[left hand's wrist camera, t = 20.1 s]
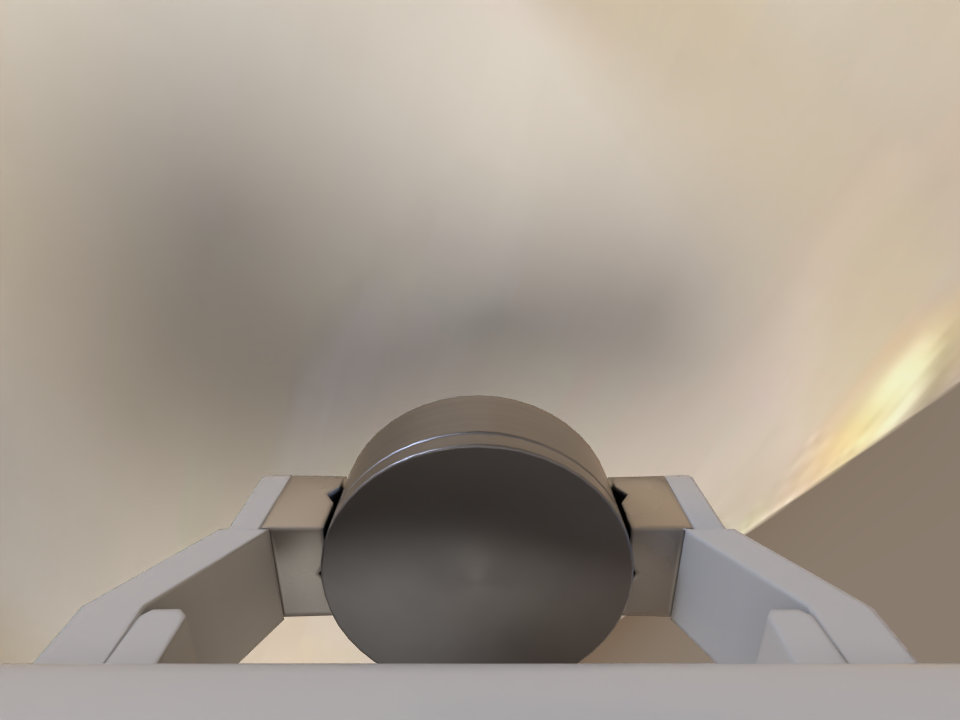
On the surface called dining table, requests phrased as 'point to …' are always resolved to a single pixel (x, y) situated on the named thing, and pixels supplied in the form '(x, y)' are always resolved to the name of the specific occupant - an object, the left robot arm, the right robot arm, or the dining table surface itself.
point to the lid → (477, 540)
